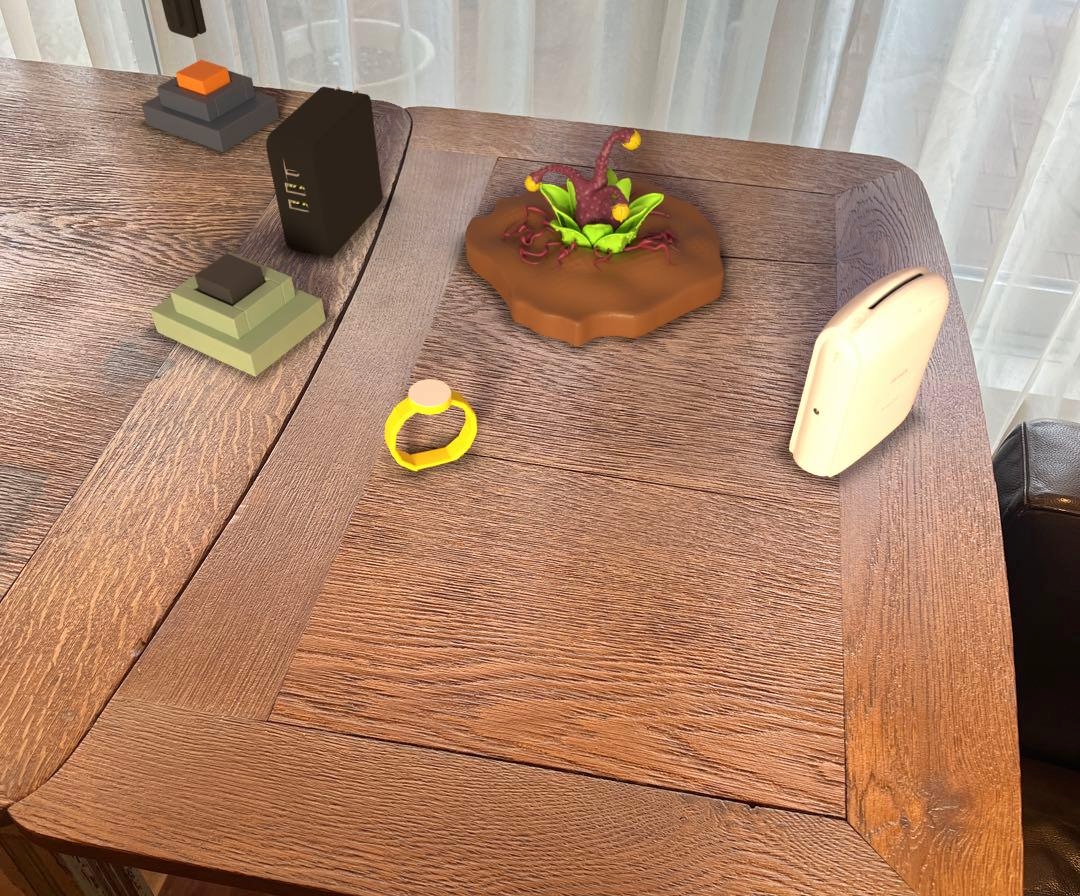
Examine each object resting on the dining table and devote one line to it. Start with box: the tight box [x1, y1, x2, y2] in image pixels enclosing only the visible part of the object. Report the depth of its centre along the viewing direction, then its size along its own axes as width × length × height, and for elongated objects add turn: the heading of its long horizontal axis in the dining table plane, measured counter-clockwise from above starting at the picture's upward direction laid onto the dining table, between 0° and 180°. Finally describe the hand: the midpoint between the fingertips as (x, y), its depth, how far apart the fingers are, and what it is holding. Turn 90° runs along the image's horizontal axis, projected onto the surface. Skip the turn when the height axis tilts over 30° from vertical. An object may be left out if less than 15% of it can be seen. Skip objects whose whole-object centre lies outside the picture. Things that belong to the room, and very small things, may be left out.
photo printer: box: [788, 265, 950, 478], centre depth 67 cm, size 10×4×12 cm, turn 133°
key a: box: [194, 252, 264, 306], centre depth 76 cm, size 3×3×2 cm
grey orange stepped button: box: [141, 70, 280, 153], centre depth 99 cm, size 10×8×4 cm
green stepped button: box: [149, 251, 327, 378], centre depth 78 cm, size 10×8×4 cm
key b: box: [175, 59, 230, 96], centre depth 98 cm, size 3×3×2 cm
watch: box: [384, 378, 478, 472], centre depth 67 cm, size 6×3×6 cm, turn 113°
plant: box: [464, 127, 725, 347], centre depth 81 cm, size 20×20×11 cm
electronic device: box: [265, 86, 383, 258], centre depth 85 cm, size 4×10×10 cm, turn 160°
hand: (188, 31), depth 94 cm, fingers closed
